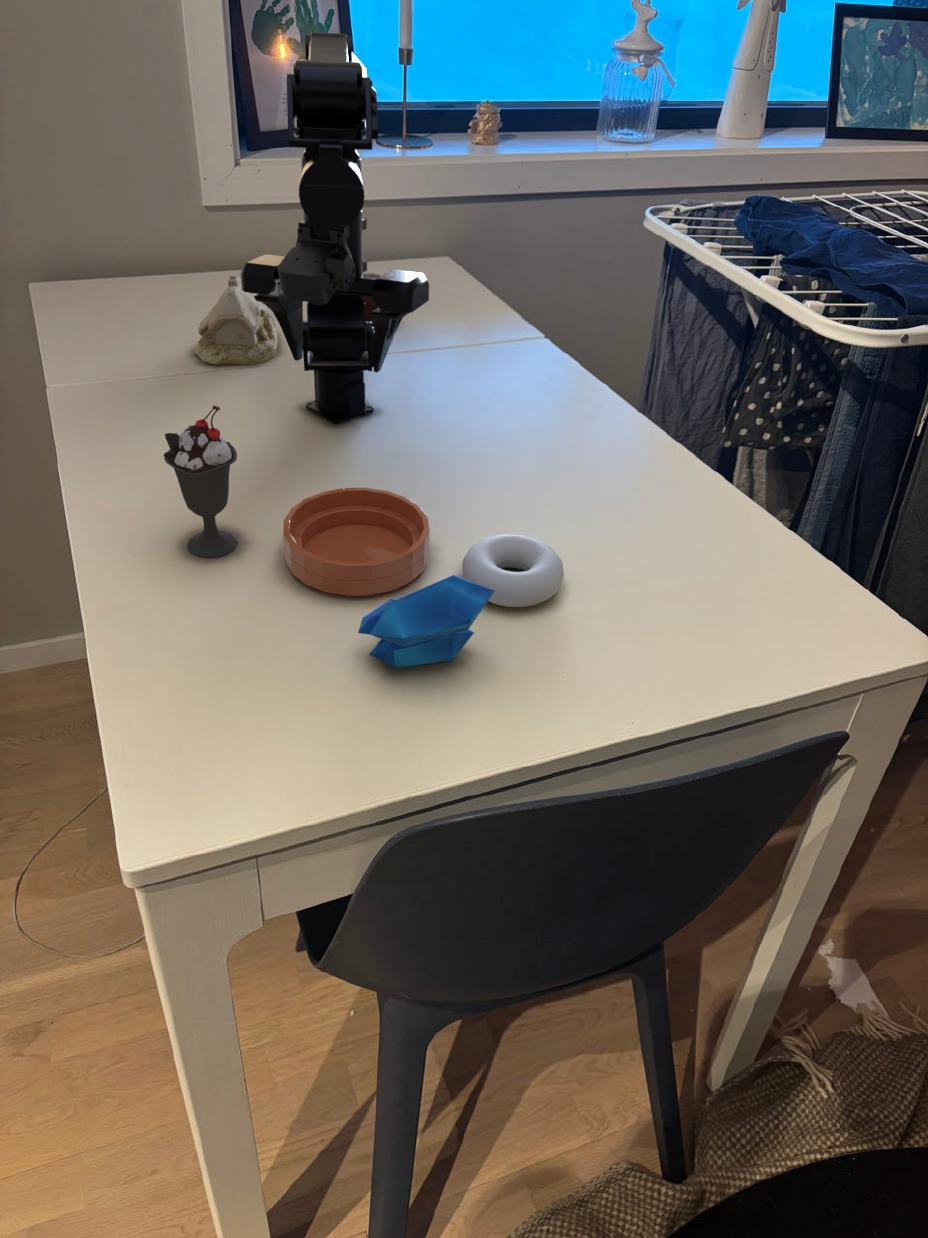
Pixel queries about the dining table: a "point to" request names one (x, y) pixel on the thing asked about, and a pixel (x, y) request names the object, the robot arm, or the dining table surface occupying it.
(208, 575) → the dining table surface
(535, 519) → the dining table surface
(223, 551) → the sundae
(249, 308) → the ceramic model
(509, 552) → the donut
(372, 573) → the bowl
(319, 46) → the robot arm
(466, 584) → the crystal
